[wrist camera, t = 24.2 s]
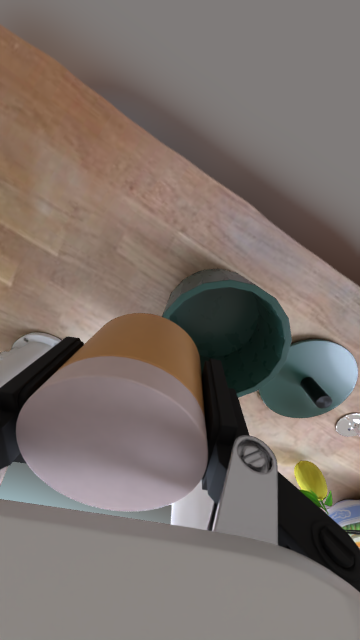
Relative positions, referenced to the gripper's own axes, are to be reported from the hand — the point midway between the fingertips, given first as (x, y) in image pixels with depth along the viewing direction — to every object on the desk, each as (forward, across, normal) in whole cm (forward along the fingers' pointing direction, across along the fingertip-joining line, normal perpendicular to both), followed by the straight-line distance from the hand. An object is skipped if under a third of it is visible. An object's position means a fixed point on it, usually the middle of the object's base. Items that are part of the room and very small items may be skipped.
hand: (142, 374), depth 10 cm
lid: (+24, -27, +14) cm, 39 cm away
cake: (+1, 0, 0) cm, 1 cm away
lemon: (+25, -35, +37) cm, 56 cm away
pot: (+25, -7, +5) cm, 26 cm away
